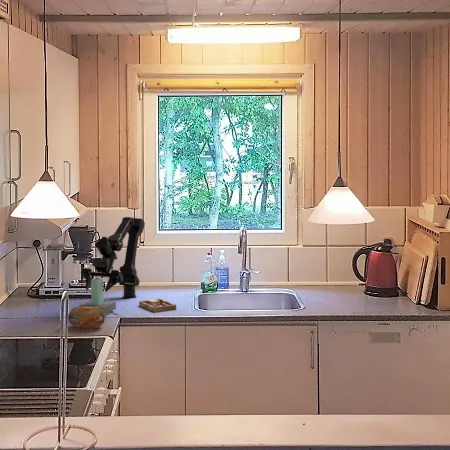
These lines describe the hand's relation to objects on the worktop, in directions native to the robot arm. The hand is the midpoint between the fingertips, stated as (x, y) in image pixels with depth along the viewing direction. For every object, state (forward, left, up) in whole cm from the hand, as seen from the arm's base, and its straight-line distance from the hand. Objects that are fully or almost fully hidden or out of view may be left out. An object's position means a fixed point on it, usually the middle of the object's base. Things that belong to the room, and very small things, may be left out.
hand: (96, 290), depth 321 cm
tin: (+23, -3, -10) cm, 26 cm away
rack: (-4, +27, -10) cm, 29 cm away
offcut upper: (-7, +25, -8) cm, 28 cm away
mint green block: (-1, 0, -6) cm, 6 cm away
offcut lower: (-7, +25, -9) cm, 28 cm away
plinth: (-1, 0, -10) cm, 10 cm away
